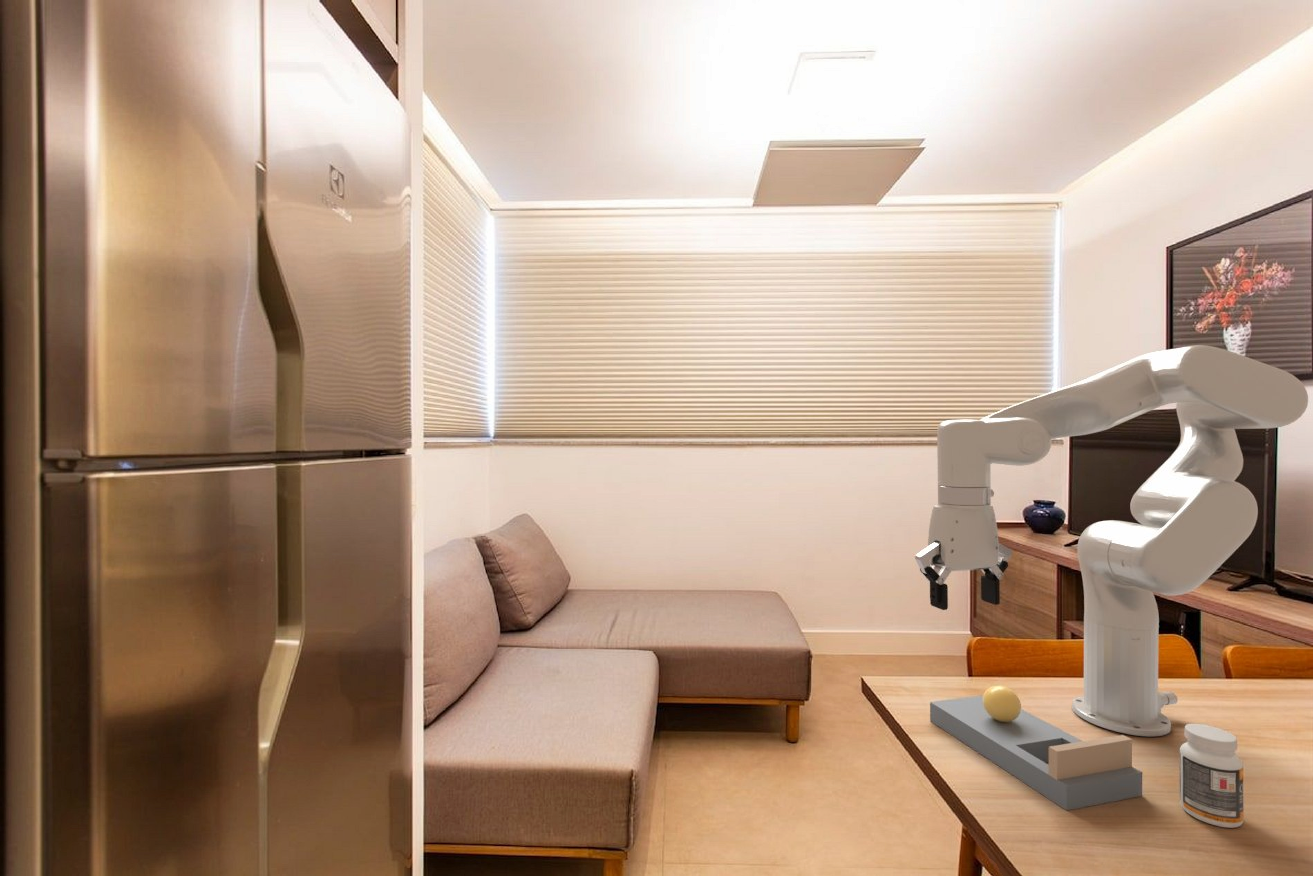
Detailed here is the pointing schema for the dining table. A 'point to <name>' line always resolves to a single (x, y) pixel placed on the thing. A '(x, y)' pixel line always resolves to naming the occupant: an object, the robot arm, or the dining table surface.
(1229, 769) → the pill bottle
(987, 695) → the ball
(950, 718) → the board
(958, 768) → the dining table surface
